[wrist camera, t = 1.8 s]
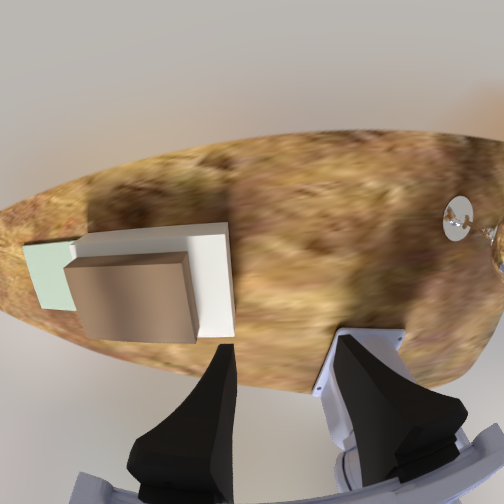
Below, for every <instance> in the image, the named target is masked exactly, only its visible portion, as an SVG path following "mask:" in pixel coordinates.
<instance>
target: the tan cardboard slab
mask: <svg viewBox="0 0 504 504" xmlns="http://www.w3.org/2000/svg"><path fill="white" fill-rule="evenodd" d="M63 270H64V273H65V277H66V280H67V283H68V287H69V290H70V293H71V296H72V299H73V302H74V305H75V307H76V310H77V313H78V316H79V318H80V321H81V324H82V326H83V329H84V331H85V334H86V336H87V338H90V339H101V340H113V341H127V342H145V343H176V344H196V341H197V337H198V332H199V328H200V326H199V320H198V314H197V308H196V302H195V296H194V290H193V284H192V277H191V270H190V263H189V256H188V251H182V252H164V253H145V254H127V255H110V256H92V257H77V258H75V259H74V260H73V261H71V262H70V263H69V264H68V265H66V266H65V267H64V268H63Z"/></svg>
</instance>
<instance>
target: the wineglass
mask: <svg viewBox="0 0 504 504" xmlns="http://www.w3.org/2000/svg"><path fill="white" fill-rule="evenodd" d="M471 227H472V228H474V229H476V230H478V231H479V232H481V233H482V234H483V235H484V237H485V238H487V239H489V240H491V243H490V261H491V265H492V268H493V270H494V272H495V274H496V275H497V277H498V278H499V279H500V280H501V281H502V282H503V283H504V217H503V218H501V220H500V221H499V222H498V224H497V226H496V228H495V230H494V229H493V228H489V227H482V226H479V225H477V224H475V223H473V208H472V205H471V203H470V201H469V200H468V199H467V198H466V197H464V196H456V197H454V198H453V199H452V200H451V201H450V202H449V203H448V205H447V207H446V209H445V212H444V216H443V230H444V233H445V235H446V237H447V238H448V239H449V240H451V241H459V240H461V239H463V238H464V237H465V236H466V235H467V234H468V232H469V230H470V228H471Z"/></svg>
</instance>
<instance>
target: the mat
mask: <svg viewBox="0 0 504 504" xmlns="http://www.w3.org/2000/svg"><path fill="white" fill-rule="evenodd" d="M75 241H76V240H72V241H61V242H52V243H42V244H33V245H24V246H22V247H23V251H24V255H25V259H26V262H27V266H28V269H29V272H30V276H31V279H32V282H33V285H34V288H35V291H36V293H37V296H38V299H39V302H40V304H41V307H42V308H45V309H58V310H73V311H77V310H76V307H75V305H74V302H73V299H72V296H71V293H70V290H69V287H68V283H67V280H66V277H65V273H64V270H63V268H64V267H65V266H66V265H68V264H69V263H70V262H71V261H73V260H72V256H71V252H70V248H69V245H70V244H72V243H73V242H75Z"/></svg>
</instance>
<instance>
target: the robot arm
mask: <svg viewBox="0 0 504 504" xmlns="http://www.w3.org/2000/svg"><path fill="white" fill-rule="evenodd" d="M405 335H406V331H405V330H404V329H366V328H340V329H338V330H337V332H336V334H335V337H334V340H333V342H332V345H331V347H330V350H329V352H328V355H327V357H326V360H325V362H324V365H323V367H322V370H321V372H320V374H319V377H318V379H317V381H316V383H315V386H314V388H313V390H312V396H314V397H321V401H322V405H323V409H324V413H325V416H326V420H327V424H328V428H329V432H330V435H331V438H332V440H333V441H334V443H335V444H336V445H337V446H339V447H340V448H341V449H343V450H344V451H343V452H341V453H340V454H339V455H338V457H337V459H336V464H335V468H334V476H335V481H336V485H337V487H338V490H339V492H340V493H338V494H334V495H329V496H323V497H317V498H311V499H305V500H296V501H288V502H276V503H260V504H461V502H460V500H459V498H460V497H462V496H463V495H465V494H466V493H468V492H469V491H471V490H472V489H474V488H476V487H477V486H479V485H480V484H481V483H483V482H484V481H486V480H487V479H488V478H490V477H491V476H492V475H493V474H495V473H496V472H497V471H498V470H499V469H501V468H502V467H503V466H504V434H503V432H502V430H501V429H500V427H499V425H498V424H497V423H494V424H493V425H491V426H490V427H489V428H487V429H485V430H484V431H482V432H481V433H480V434H479V435H478V436H477V437H476V438H475V439H474V440H473V442H471V443H470V442H469V440H468V438H467V436H466V435H465V433H464V431H463V429H462V428H461V426H462V424H463V423H464V422H465V420H466V418H467V416H468V412H467V410H466V408H465V407H464V405H463V404H462V402H461V401H460V399H458V398H453V397H450V396H446V395H442V394H439V393H436V392H434V391H431V390H428V389H426V388H424V387H422V386H420V385H418V384H417V383H416V381H415V379H414V378H413V376H412V374H411V373H410V371H409V369H408V368H407V366H406V365H405V363H404V361H403V360H402V358H401V357H400V355H399V353H398V352H397V351H398V349H399V347H400V345H401V343H402V341H403V339H404V337H405ZM236 397H237V370H236V361H235V353H234V344H220V345H219V346H218V348H217V350H216V353H215V355H214V357H213V359H212V361H211V363H210V365H209V366H208V368H207V370H206V371H205V373H204V375H203V376H202V378H201V379H200V381H199V382H198V384H197V385H196V387H195V388H194V389H193V391H192V392H191V393H190V394H189V396H188V397H187V398H186V399H185V400H184V401H183V402H182V404H181V405H180V406H179V407H178V408H177V409H176V410H175V411H174V412H173V413H172V414H171V415H169V416H168V417H167V418H166V419H165V420H163V421H162V422H161V423H160V424H158V425H157V426H156V427H155V428H153V429H152V430H150V431H149V432H147V433H146V434H144V435H143V436H141V437H139V438H138V439H136V441H135V443H134V445H133V447H132V449H131V452H130V455H129V459H128V462H127V469H128V471H129V472H130V473H131V475H133V477H135V478H136V479H137V480H138V481H139V482H140V483H141V485H140V490H139V493H136V492H132V491H127V490H123V489H119V488H116V487H113V486H112V485H111V484H110V483H109V482H108V481H106V480H104V479H101V478H98V477H96V476H92V475H89V474H87V473H84V472H79V475H78V477H77V480H76V483H75V486H74V489H73V492H72V496H71V499H70V502H69V504H234V500H233V471H232V470H233V468H232V434H233V424H234V414H235V406H236Z"/></svg>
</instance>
